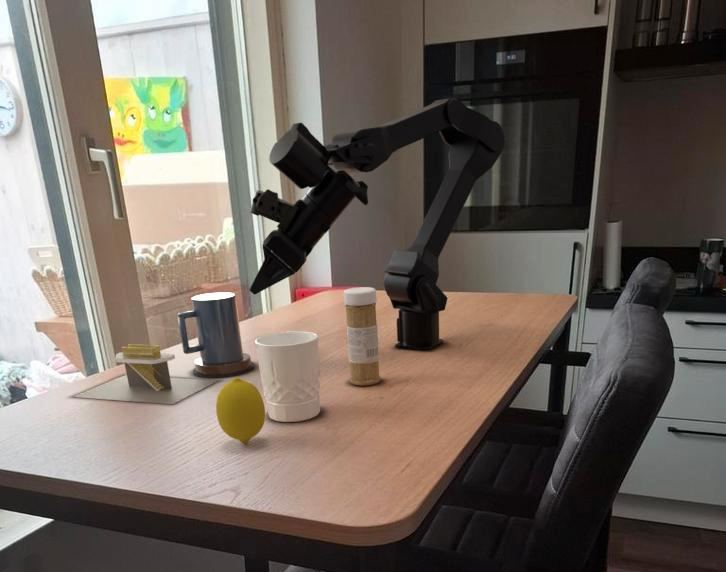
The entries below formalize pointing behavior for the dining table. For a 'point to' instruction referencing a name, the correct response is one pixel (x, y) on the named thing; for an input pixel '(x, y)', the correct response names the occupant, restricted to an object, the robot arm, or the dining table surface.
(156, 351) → the platform
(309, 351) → the white cup
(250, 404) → the lemon
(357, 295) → the spice jar
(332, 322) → the dining table surface
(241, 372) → the base
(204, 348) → the mug
